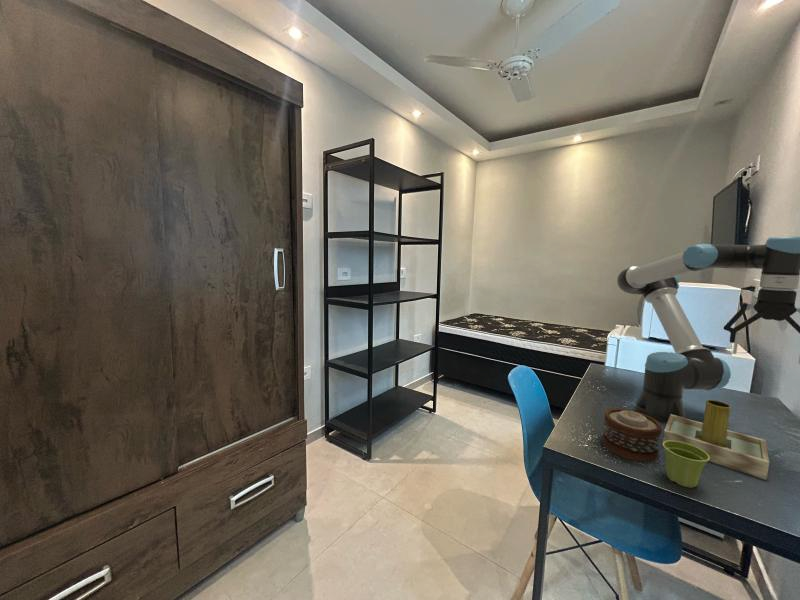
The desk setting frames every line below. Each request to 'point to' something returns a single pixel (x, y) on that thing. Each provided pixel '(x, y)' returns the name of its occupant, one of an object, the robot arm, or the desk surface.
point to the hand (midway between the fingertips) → (766, 358)
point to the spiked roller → (632, 434)
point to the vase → (715, 423)
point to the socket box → (737, 455)
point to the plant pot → (684, 462)
